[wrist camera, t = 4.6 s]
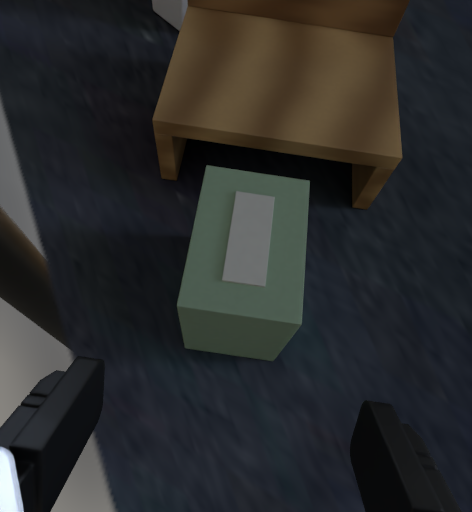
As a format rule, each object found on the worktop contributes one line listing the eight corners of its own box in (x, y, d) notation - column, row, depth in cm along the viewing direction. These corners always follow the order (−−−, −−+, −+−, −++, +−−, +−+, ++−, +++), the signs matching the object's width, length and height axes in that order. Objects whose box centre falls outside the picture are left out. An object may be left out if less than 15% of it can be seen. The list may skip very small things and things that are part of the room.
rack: (161, 178, 30) (145, 79, 22) (192, 65, 36) (188, -46, 28) (367, 209, 30) (426, 122, 22) (364, 92, 36) (410, -11, 28)
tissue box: (184, 348, 24) (176, 304, 17) (205, 237, 28) (206, 162, 21) (273, 361, 24) (302, 323, 17) (283, 249, 28) (310, 178, 21)
